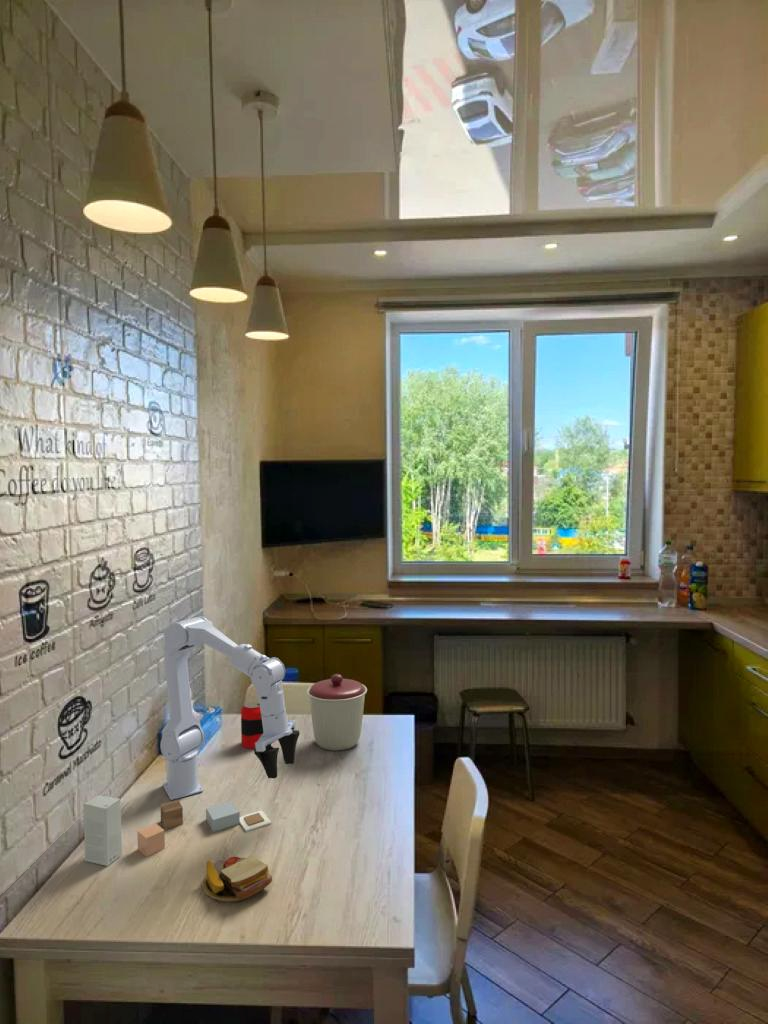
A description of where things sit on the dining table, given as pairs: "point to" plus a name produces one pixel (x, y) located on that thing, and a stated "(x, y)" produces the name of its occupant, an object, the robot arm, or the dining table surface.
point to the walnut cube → (171, 814)
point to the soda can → (251, 724)
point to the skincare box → (102, 830)
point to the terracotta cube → (151, 839)
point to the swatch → (254, 820)
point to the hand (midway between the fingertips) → (281, 770)
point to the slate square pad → (222, 816)
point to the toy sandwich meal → (235, 878)
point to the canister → (337, 712)
